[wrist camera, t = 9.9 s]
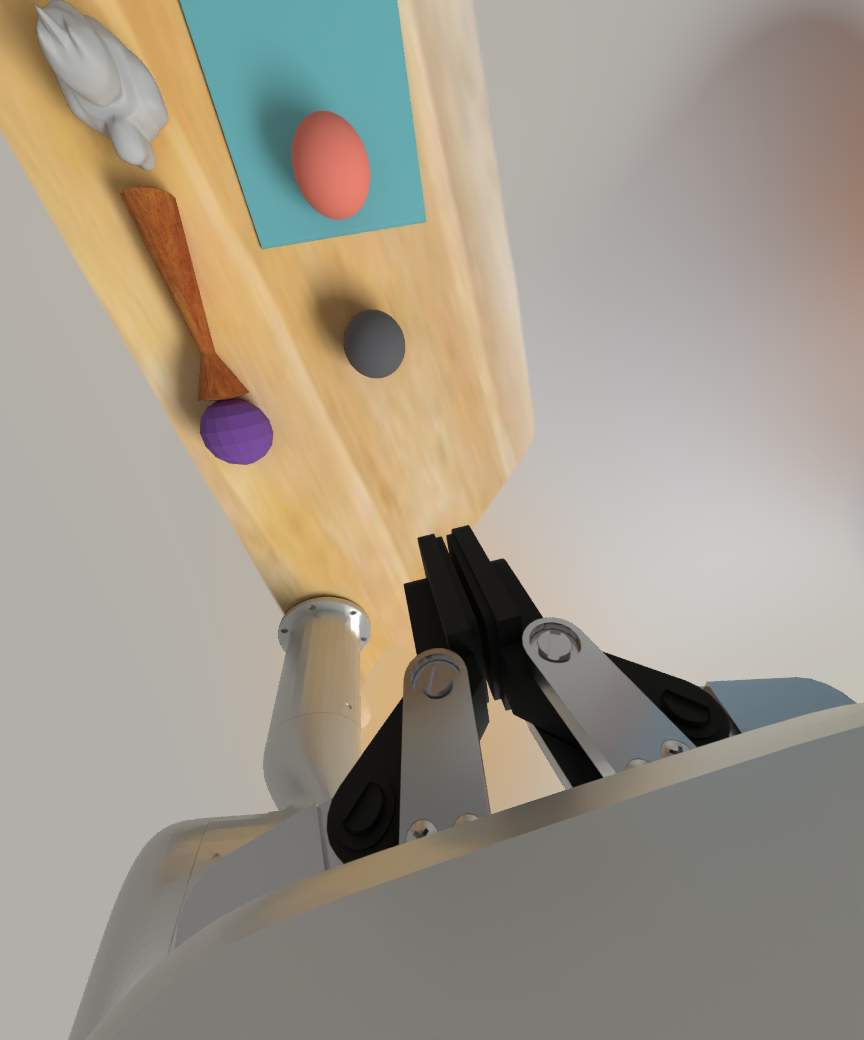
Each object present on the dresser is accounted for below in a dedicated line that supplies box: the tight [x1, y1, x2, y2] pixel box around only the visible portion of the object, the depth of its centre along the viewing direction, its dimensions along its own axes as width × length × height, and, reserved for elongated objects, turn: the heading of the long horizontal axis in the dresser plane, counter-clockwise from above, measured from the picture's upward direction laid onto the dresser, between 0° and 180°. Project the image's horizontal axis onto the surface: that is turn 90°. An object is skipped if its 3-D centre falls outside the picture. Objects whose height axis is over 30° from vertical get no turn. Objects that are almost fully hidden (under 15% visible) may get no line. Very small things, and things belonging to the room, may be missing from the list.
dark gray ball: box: [344, 310, 405, 378], centre depth 31 cm, size 6×6×6 cm
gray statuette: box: [33, 0, 168, 171], centre depth 20 cm, size 5×7×8 cm
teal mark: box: [180, 0, 426, 249], centre depth 25 cm, size 14×14×1 cm
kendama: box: [121, 187, 273, 465], centre depth 29 cm, size 6×6×20 cm
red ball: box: [291, 111, 370, 220], centre depth 25 cm, size 6×6×6 cm
